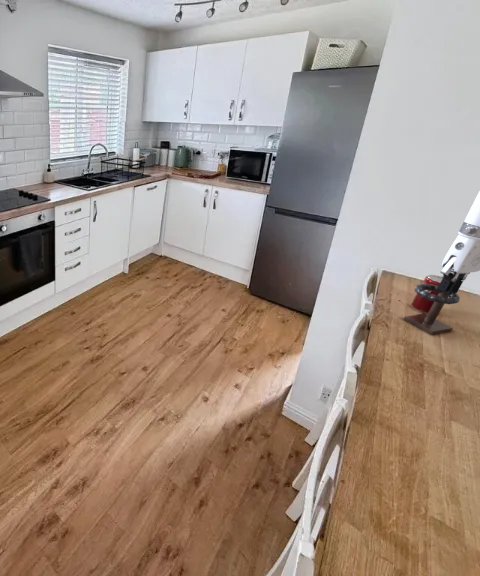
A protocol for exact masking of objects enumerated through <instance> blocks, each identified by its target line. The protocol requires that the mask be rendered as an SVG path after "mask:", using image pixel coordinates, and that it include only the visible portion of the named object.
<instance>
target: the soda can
mask: <svg viewBox="0 0 480 576" xmlns="http://www.w3.org/2000/svg"><path fill="white" fill-rule="evenodd" d="M442 277H443V276H442V275H436V274H428V275H426V276H425V277H424V279H423V280H422V281H423V282H422V283H421V284H431V285H436V286H439V284H440V283H441V281H442V279H443V278H442ZM425 291H426V292H428V293H431V294H433V295H437V296H438V294H439V293H438V292H435V291H430V290H425ZM433 303H434V301H431V300H428V299H426V298H423V297H421V296H419V295H418V294H417V293H416V295H415V296H414V298H413V300H412V302H411V306H412V308H413V309H414V310H416V311H418V312H421V313H422V314H426V315H427V314H428V312H429V311H430V309H431V307H432V305H433Z"/></svg>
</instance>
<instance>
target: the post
mask: <svg viewBox="0 0 480 576" xmlns="http://www.w3.org/2000/svg"><path fill="white" fill-rule="evenodd" d="M438 296H440V297H447V298H449V297H448V296H446V295H444V294H442V293H439V294H438ZM444 305H445V304H443V303H437V302H434V303H433V305H432V307H431V309H430V311H429V312H428V314H427V313H418V314H412V315H406V316H404V318H403V320H404V321H405V322H407V323H409V324H410V325H413V326H414V327H416V328H419V329H420V330H422V331H424V332H426V333H427V334H430V335H431V336H433V335H437V334H442V333H443V334H444V333H447V332H452V331H453V330H454V327H452V326H450V325H448V324H446V323H444V322H442V321H440V320H438V319H437V318H438V316H439V314H440V312H441V311H442V309H443V307H444Z"/></svg>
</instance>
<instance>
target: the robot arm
mask: <svg viewBox="0 0 480 576" xmlns="http://www.w3.org/2000/svg"><path fill="white" fill-rule="evenodd" d="M457 234H458V235H457V237H456V238H455V239H454V241H453V243H452V244H451V245H450V247H449V249H448V251H447V253H446V255H445V256H444V258H443V260H442V262H441V267H442V269H441V270H440V274H442V276H441V277H442V278H443V279H442V281H441V283H440V284H439V286H438V288H437V290H439V291H441V292H443V293H446V294H450V293H451V292H452V291H453V292H455V293H456V294H458V292H459V290H460V288H461V287H462V285H463V282H464V281H465V280H467V278H468V276H469V275H470V274H471V273H475V272H480V190H479V191H478V193H477V194H476V197H475V199H474V201H473V203H472V205H471V206H470V209H469V210H468V213H467V215H466V217H465V219H464V221H463V223H462V225H461V226H460V228H459V230H458V232H457Z"/></svg>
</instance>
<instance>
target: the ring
mask: <svg viewBox="0 0 480 576" xmlns="http://www.w3.org/2000/svg"><path fill="white" fill-rule="evenodd" d="M437 288H438V286H436V285H431V284H422V283H420V284H417V285H416V286H415V287H414V292H415V293H416V295H417V294H418V295H419V296H421V297H423V298H426V299H428V300H431V301H434V302H437V303H443V304H444V305H454V304H458V303H459V302H460V298H461V296H460V295H459V294H458V293H455V292H453V291H452V292H451V293H450V294H446V293H443V292H441V291H439V290H437ZM425 290H430V291H435V292H438V293H442V294H444V295H446V296H448V298H447V297H440V296H437V295H433V294H431V293H428V292H426V291H425Z"/></svg>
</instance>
